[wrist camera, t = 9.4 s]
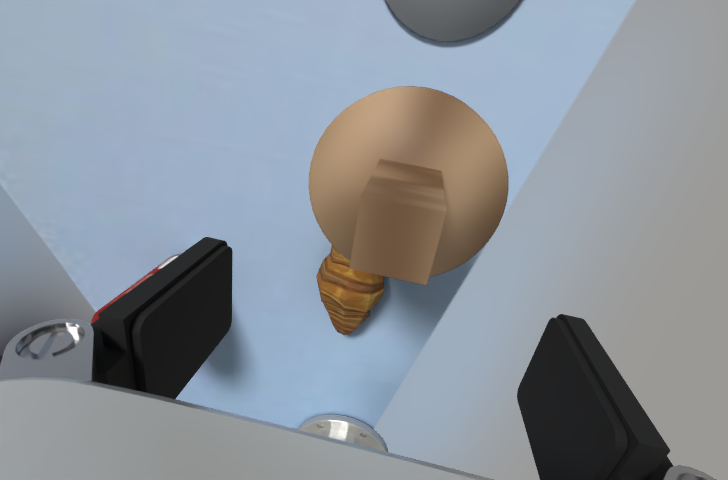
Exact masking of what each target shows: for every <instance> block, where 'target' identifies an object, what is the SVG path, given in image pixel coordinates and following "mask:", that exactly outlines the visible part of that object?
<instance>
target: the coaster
mask: <svg viewBox="0 0 728 480" xmlns="http://www.w3.org/2000/svg"><path fill="white" fill-rule="evenodd" d="M518 1H519V0H386V2H387V3H388V5H389V7H390V8H391V10H392V12H393V13H394V14H395V15H396V16H397V18H398V19H399V20H400V21H401V22H402V23H403V24H404V25H405V26H406V27H408V28H409V29H411V30H412V31H413V32H415V33H417V34H419V35H421V36H423V37H426V38H429V39H433V40H439V41H456V40H463V39H466V38H470V37H473V36H475V35H477V34H480V33H482V32H484V31H485V30H487V29H489V28H491V27H492V26H494V25H495V24H496V23H498V22H499V21H500V20H502V19H503V18H504V17H505V16H506V15H507V14H508V13H509V12H510V11H511V10H512V9H513V7H514V6H515V5H516V4H517V3H518Z"/></svg>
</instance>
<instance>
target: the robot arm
mask: <svg viewBox="0 0 728 480" xmlns="http://www.w3.org/2000/svg"><path fill="white" fill-rule="evenodd" d="M98 316H99V319H98V320H96V321H95V322H94V323H92V324H91V325H90V324H89V323H87V322H85V321H82V320H79V319H57V320H52V321H48V322H44V323H40V324H38V325H35V326H32V327H30V328H28V329H26V330H25V331H23V332H21V333H19V334H18V335H16V336H15V337H14V338H13V339H12V340H11V341H10V342H9V343H8V345H7V347H6V348H5V351H4V354H3V356H1V357H0V480H493V479H489V478H485V477H481V476H477V475H474V474H470V473H466V472H462V471H458V470H455V469H451V468H447V467H443V466H439V465H435V464H431V463H428V462H424V461H420V460H416V459H412V458H408V457H404V456H400V455H396V454H392V453H388V449H387V446H386V444H385V442H384V440H383V438H382V437H381V436H380V435H379V434H378V433H377V432H376V431H375V430H374V429H372V428H371V427H370V426H368V425H367V424H365V423H363V422H361V421H359V420H356V419H354V418H351V417H347V416H343V415H335V414H331V415H320V416H316V417H313V418H310V419H308V420H307V421H305V422H303V423H302V424H301V425H300V426H299V428H298V429H294V428H290V427H285V426H281V425H277V424H273V423H269V422H265V421H261V420H257V419H253V418H249V417H245V416H241V415H237V414H233V413H229V412H225V411H221V410H217V409H213V408H209V407H205V406H200V405H196V404H192V403H188V402H184V401H180V400H175V399H176V397H177V396H178V395H179V394H180V392H181V391H182V390H183V388H184V387H185V386H186V385H187V383H188V382H189V381H190V379H191V378H192V377H193V376H194V374H195V373H196V372H197V370H198V369H199V368H200V367H201V365H202V364H203V363H204V362H205V360H206V359H207V358H208V356H209V355H210V354H211V353H212V351H213V350H214V349H215V347H216V346H217V345H218V344H219V342H220V341H221V340H222V339H223V337H224V336H225V335H226V333H227V332H228V330H229V328H230V326H231V322H232V248H231V247H228V246H227V243H226V242H225V241H223V240H218V239H214V238H209V237H205V238H203V239H202V240H200V241H199V242H197V243H196V244H195V245H193V246H192V247H190V248H189V249H188V250H186V251H185V252H184V253H182V254H181V255H179V256H178V257H177V258H175V259H174V260H172V261H171V262H170V263H168V264H167V265H165V266H164V267H163V268H161V269H160V270H158V271H157V272H156V273H154V274H153V275H151V276H150V277H149V278H147V279H146V280H145V281H143V282H142V283H140V284H139V285H138V286H136V287H135V288H133V289H132V290H131V291H129V292H128V293H126V294H125V295H124V296H122V297H121V298H119V299H118V300H117V301H115V302H114V303H112V304H111V305H110V306H108V307H107V308H106V309H104V310H103V311H101V312H100V313H99V314H98ZM517 399H518V403H519V407H520V410H521V414H522V417H523V421H524V424H525V428H526V432H527V435H528V438H529V442H530V445H531V449H532V453H533V456H534V460H535V463H536V467H537V470H538V474H539V477H540V480H716V479H714V478H713V477H711V476H709V475H707V474H706V473H704V472H701V471H699V470H696V469H694V468H691V467H686V466H681V465H678V466H673V465H672V463H671V462H670V460H669V459H668V457H667V454H668V453H669V452H670V449H669V448H668V446H667V445H666V443H665V442H664V440H663V439H662V437H661V436H660V434H659V432H658V431H657V430H656V428H655V426H654V425H653V423H652V422H651V420H650V419H649V417H648V416H647V414H646V413H645V411H644V410H643V408H642V407H641V405H640V404H639V402H638V400H637V399H636V397H635V396H634V394H633V393H632V391H631V390H630V388H629V387H628V385H627V384H626V382H625V381H624V379H623V378H622V376H621V374H620V373H619V371H618V370H617V369H616V367H615V365H614V364H613V362H612V361H611V359H610V358H609V356H608V355H607V353H606V352H605V350H604V349H603V347H602V346H601V344H600V342H599V341H598V340H597V338H596V337H595V335H594V333H593V332H592V330H591V329H590V327H589V326H588V324H587V323H586V321H585V320H584V319H581V318H577V317H572V316H568V315H563V314H560V315H558V316H557V318H551V319H550V320H549V322H548V324H547V326H546V328H545V331H544V333H543V335H542V337H541V339H540V342H539V344H538V346H537V348H536V350H535V353H534V355H533V357H532V359H531V361H530V364H529V366H528V368H527V371H526V372H525V374H524V377H523V379H522V381H521V383H520V386H519V388H518V393H517Z"/></svg>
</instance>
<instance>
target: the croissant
mask: <svg viewBox="0 0 728 480" xmlns="http://www.w3.org/2000/svg"><path fill="white" fill-rule="evenodd" d="M349 267H350V260H348V259H347V258H345V257H344V256H343V255H342V254H341V253H340V252H339V251H337V250H336V248H335V247H334V246H333V245H332V248H331V253H330V254H329V255H328V256H327V257H326V258H325V259H324V260H323V262H322V264H321V267H320V269H319V271H318V274H317V276H316V277H317V282H318V287H319V291H320V296H321V301H322V302H323V303H324V306H325V308H326V310H327V312H328V314H329V316H330V319H331V321H332V324H333V326H334V327H335V329H336V330H337V332H339V333H341V334H343V335H349V334H351V333H352V332H353V331H354V330H355V329H356V328H357V327H358V326H359V325H360V324H361V323H362V322H363V321H364V320H365V319H366V318H367V317H368V316H369V315H370V310H371V308H373V307H374V306H375V305H376V304H377V303H378V301H379V300H380V298H381V296H382V295H383V293H384V278H383V276H381V275H377V274H372V273H367V272H363V271H358V270H354V269H349Z"/></svg>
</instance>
